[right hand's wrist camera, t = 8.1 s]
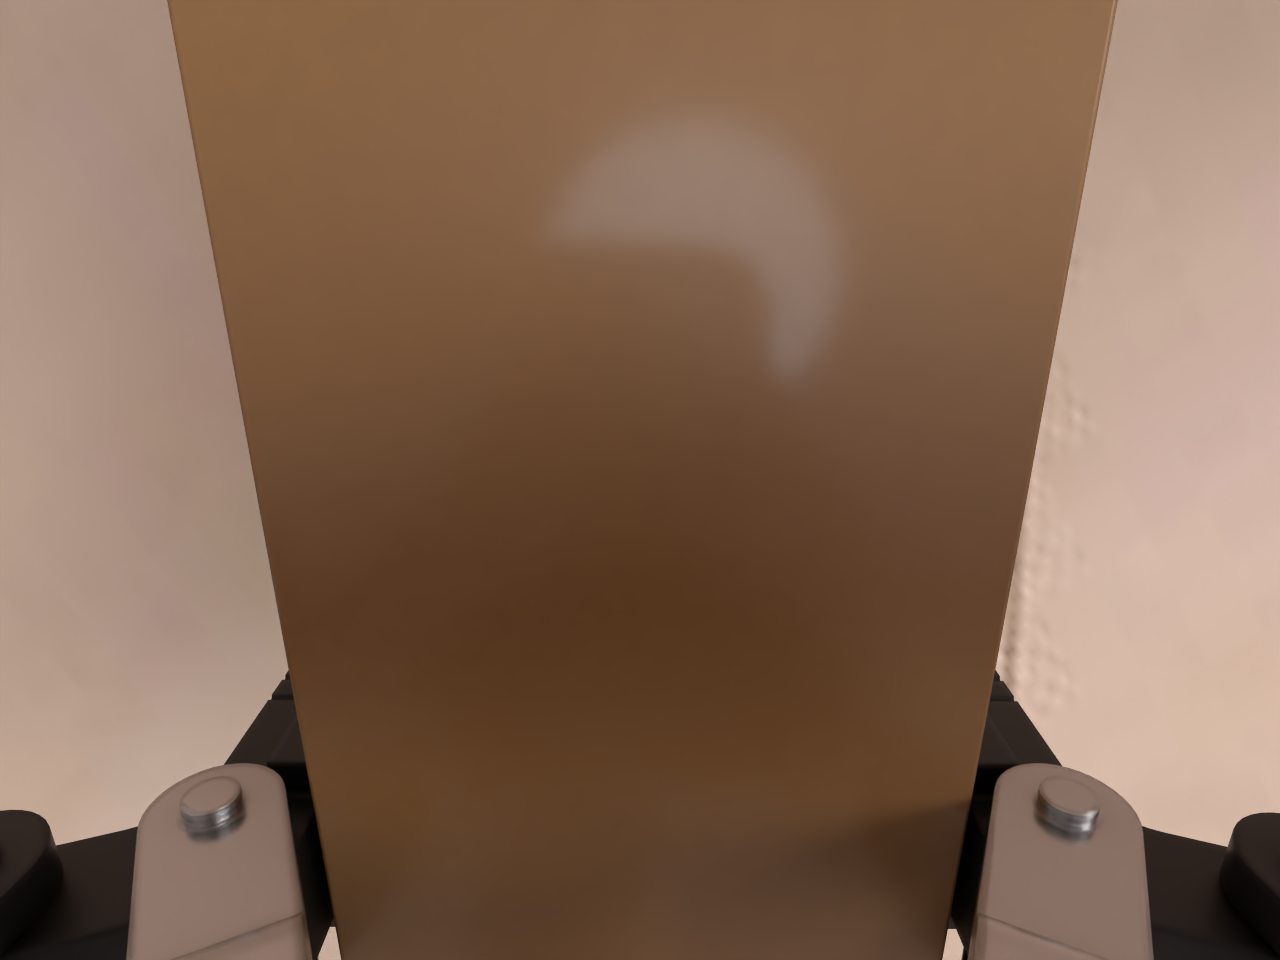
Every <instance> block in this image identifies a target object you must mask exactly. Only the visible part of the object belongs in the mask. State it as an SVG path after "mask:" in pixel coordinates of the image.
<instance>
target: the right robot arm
mask: <svg viewBox="0 0 1280 960" xmlns="http://www.w3.org/2000/svg"><path fill="white" fill-rule="evenodd" d="M330 927H335V921H334V916H333V910H332V905H331V899H330V894H329V888H328V883H327V877H326V872H325V866H324V861H323V855H322V850H321V844H320V839H319V833H318V828H317V822H316V817H315V811H314V806H313V800H312V795H311V789H310V784H309V778H308V773H307V767H306V762H305V756H304V751H303V745H302V739H301V734H300V728H299V723H298V717H297V712H296V706H295V701H294V695H293V690H292V684H291V679H290V673H289V671H288V672H287V674H286V678H285V680H282V681H281V682H280V684H279V685H278V687H277V688H276V690H275V691H274V693H273V694H272V699H271V700H268V701H267V703H266V704H265V706H264V707H263V709H262V710H261V711H260V713H259V714H258V716H257V717H256V719H255V720H254V722H253V723H252V725H251V726H250V727H249V729H248V730H247V732H246V733H245V735H244V736H243V738H242V739H241V741H240V742H239V744H238V745H237V746H236V748H235V749H234V751H233V752H232V754H231V755H230V757H229V758H228V760H227V761H226V762H225V764H224V765H222V766H218V767H213V768H210V769H207V770H204V771H201V772H198V773H196V774H194V775H191V776H189V777H187V778H185V779H183V780H181V781H179V782H178V783H176V784H174V785H173V786H171V787H170V788H168V789H167V790H166V791H164V792H163V793H162V794H161V795H160V796H158V797H157V798H156V799H155V800H154V801H153V802H152V803H151V804H150V805H149V807H148V808H147V810H146V811H145V812H144V814H143V816H142V818H141V820H140V822H139V825H138V827H134V828H130V829H127V830H123V831H119V832H114V833H110V834H105V835H101V836H97V837H92V838H88V839H83V840H79V841H75V842H70V843H66V844H61V845H57V846H56V845H55V842H54V839H53V836H52V833H51V830H50V827H49V825H48V823H47V821H46V820H45V819H44V818H43V817H41V816H40V815H38V814H36V813H33V812H29V811H24V810H5V811H0V960H319V959H318V955H319V952H320V950H321V947H322V945H323V942H324V940H325V937H326V935H327V932H328V930H329V928H330ZM948 929H957V932H958V934H959V937H960V939H961V942H962V944H963V946H964V948H963V954H962V959H961V960H1280V813H1258V814H1252V815H1249V816H1247V817H1244V818H1242V819H1241V820H1240V821H1239V822H1238V823H1237V824H1236V826H1235V828H1234V830H1233V833H1232V836H1231V839H1230V842H1229V845H1228V847H1225V846H1221V845H1216V844H1212V843H1207V842H1203V841H1199V840H1194V839H1190V838H1186V837H1181V836H1177V835H1172V834H1168V833H1164V832H1160V831H1156V830H1153V829H1149V828H1146V827H1143V826H1142V825H1141V822H1140V820H1139V818H1138V816H1137V814H1136V812H1135V811H1134V810H1133V808H1132V807H1131V805H1130V804H1129V803H1128V802H1127V801H1126V800H1125V799H1124V798H1123V797H1122V796H1120V795H1119V794H1118V793H1117V792H1116V791H1114V790H1113V789H1112V788H1110V787H1109V786H1107V785H1106V784H1104V783H1102V782H1101V781H1099V780H1097V779H1095V778H1093V777H1091V776H1089V775H1086V774H1084V773H1082V772H1079V771H1076V770H1073V769H1070V768H1067V767H1062V765H1061V764H1060V762H1059V761H1058V759H1057V758H1056V756H1055V755H1054V754H1053V752H1052V751H1051V749H1050V748H1049V746H1048V745H1047V744H1046V742H1045V741H1044V739H1043V738H1042V736H1041V735H1040V733H1039V732H1038V731H1037V729H1036V728H1035V726H1034V725H1033V723H1032V722H1031V720H1030V719H1029V718H1028V716H1027V715H1026V713H1025V712H1024V710H1023V709H1022V708H1021V706H1020V705H1019V703H1018V702H1017V701H1014V696H1013V695H1012V693H1011V692H1010V690H1009V689H1008V687H1007V686H1006V684H1005V683H1004V682H1003V681H1000V676H999V674H998V673H997V672H996V670H995V673H994V679H993V684H992V690H991V695H990V701H989V706H988V712H987V717H986V723H985V728H984V734H983V739H982V744H981V750H980V755H979V761H978V766H977V772H976V777H975V783H974V788H973V794H972V799H971V805H970V810H969V815H968V821H967V826H966V832H965V837H964V843H963V848H962V854H961V859H960V865H959V870H958V876H957V881H956V887H955V892H954V897H953V903H952V908H951V914H950V919H949V925H948Z"/></svg>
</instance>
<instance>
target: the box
mask: <svg viewBox="0 0 1280 960" xmlns="http://www.w3.org/2000/svg"><path fill="white" fill-rule="evenodd" d="M167 1H168V7H169V12H170V18H171V23H172V29H173V34H174V40H175V45H176V51H177V56H178V62H179V67H180V73H181V78H182V84H183V89H184V95H185V100H186V106H187V111H188V117H189V122H190V128H191V134H192V139H193V145H194V150H195V156H196V161H197V167H198V172H199V178H200V183H201V189H202V194H203V200H204V205H205V211H206V216H207V222H208V227H209V233H210V238H211V244H212V249H213V255H214V260H215V266H216V271H217V277H218V282H219V288H220V293H221V299H222V304H223V310H224V315H225V321H226V326H227V332H228V337H229V343H230V348H231V354H232V359H233V365H234V370H235V376H236V381H237V387H238V392H239V398H240V403H241V409H242V414H243V420H244V425H245V431H246V437H247V442H248V448H249V453H250V459H251V464H252V470H253V475H254V481H255V486H256V492H257V497H258V503H259V508H260V514H261V519H262V525H263V530H264V536H265V541H266V547H267V552H268V558H269V563H270V569H271V574H272V580H273V585H274V591H275V596H276V602H277V607H278V613H279V618H280V624H281V629H282V635H283V640H284V646H285V651H286V657H287V662H288V668H289V673H290V679H291V684H292V690H293V695H294V701H295V706H296V712H297V717H298V723H299V728H300V734H301V739H302V745H303V751H304V756H305V762H306V767H307V773H308V778H309V784H310V789H311V795H312V800H313V806H314V811H315V817H316V822H317V828H318V833H319V839H320V844H321V850H322V855H323V861H324V866H325V872H326V877H327V883H328V888H329V894H330V899H331V905H332V910H333V916H334V921H335V927H336V932H337V938H338V943H339V949H340V954H341V960H942V958H943V952H944V947H945V941H946V936H947V930H948V925H949V919H950V914H951V908H952V903H953V897H954V892H955V887H956V881H957V876H958V870H959V865H960V859H961V854H962V848H963V843H964V837H965V832H966V826H967V821H968V815H969V810H970V805H971V799H972V794H973V788H974V783H975V777H976V772H977V766H978V761H979V755H980V750H981V744H982V739H983V734H984V728H985V723H986V717H987V712H988V706H989V701H990V695H991V690H992V684H993V679H994V673H995V668H996V662H997V657H998V652H999V646H1000V641H1001V635H1002V630H1003V624H1004V619H1005V613H1006V608H1007V602H1008V597H1009V591H1010V586H1011V581H1012V575H1013V570H1014V564H1015V559H1016V553H1017V548H1018V542H1019V537H1020V531H1021V526H1022V520H1023V515H1024V509H1025V504H1026V499H1027V493H1028V488H1029V482H1030V477H1031V471H1032V466H1033V460H1034V455H1035V449H1036V444H1037V438H1038V433H1039V427H1040V422H1041V417H1042V411H1043V406H1044V400H1045V395H1046V389H1047V384H1048V378H1049V373H1050V367H1051V362H1052V356H1053V351H1054V346H1055V340H1056V335H1057V329H1058V324H1059V318H1060V313H1061V307H1062V302H1063V296H1064V291H1065V285H1066V280H1067V274H1068V269H1069V264H1070V258H1071V253H1072V247H1073V242H1074V236H1075V231H1076V225H1077V220H1078V214H1079V209H1080V203H1081V198H1082V193H1083V187H1084V182H1085V176H1086V171H1087V165H1088V160H1089V154H1090V149H1091V143H1092V138H1093V132H1094V127H1095V121H1096V116H1097V111H1098V105H1099V100H1100V94H1101V89H1102V83H1103V78H1104V72H1105V67H1106V61H1107V56H1108V50H1109V45H1110V40H1111V34H1112V29H1113V23H1114V18H1115V12H1116V7H1117V1H1118V0H167Z"/></svg>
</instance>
